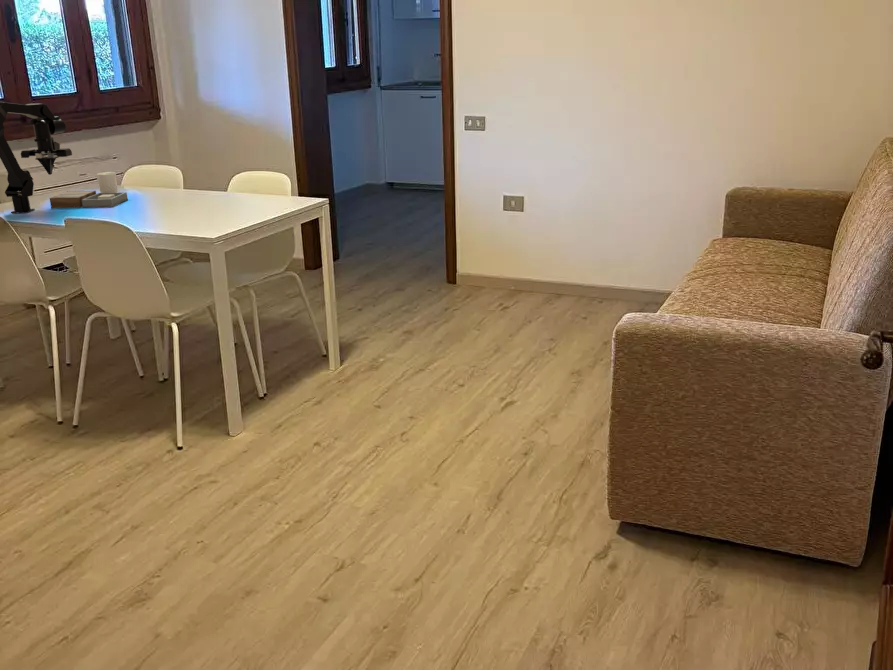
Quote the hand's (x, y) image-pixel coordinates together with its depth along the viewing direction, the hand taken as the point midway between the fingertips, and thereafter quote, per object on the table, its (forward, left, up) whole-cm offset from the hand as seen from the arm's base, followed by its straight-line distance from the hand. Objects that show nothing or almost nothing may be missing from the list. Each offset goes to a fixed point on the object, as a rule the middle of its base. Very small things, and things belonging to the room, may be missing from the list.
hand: (50, 174), depth 340 cm
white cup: (+14, -17, -12) cm, 25 cm away
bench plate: (-2, -9, -12) cm, 15 cm away
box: (-2, -22, -12) cm, 25 cm away
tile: (-1, -22, -9) cm, 24 cm away
